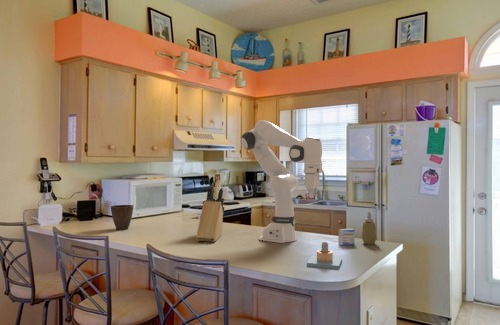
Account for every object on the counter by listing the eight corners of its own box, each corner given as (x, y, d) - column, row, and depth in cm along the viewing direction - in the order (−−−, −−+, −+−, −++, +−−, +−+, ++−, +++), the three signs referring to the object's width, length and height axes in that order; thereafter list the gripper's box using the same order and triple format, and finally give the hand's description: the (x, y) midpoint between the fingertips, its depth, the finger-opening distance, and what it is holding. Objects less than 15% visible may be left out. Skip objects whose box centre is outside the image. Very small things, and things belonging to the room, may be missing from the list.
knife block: (225, 231, 247) (225, 185, 247) (214, 243, 212) (215, 189, 212) (208, 231, 249) (209, 185, 248) (195, 242, 214) (195, 189, 213)
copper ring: (316, 261, 169) (316, 252, 169) (318, 257, 175) (318, 249, 175) (331, 262, 167) (331, 253, 167) (333, 259, 173) (333, 250, 173)
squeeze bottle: (373, 242, 216) (373, 211, 216) (378, 245, 208) (378, 213, 208) (359, 242, 216) (359, 211, 216) (364, 245, 208) (364, 213, 208)
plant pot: (105, 230, 250) (105, 206, 250) (119, 226, 264) (119, 204, 264) (124, 231, 246) (124, 207, 246) (137, 228, 260) (137, 205, 260)
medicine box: (342, 245, 207) (342, 230, 207) (338, 244, 211) (338, 228, 211) (354, 245, 209) (354, 229, 209) (350, 243, 214) (350, 228, 213)
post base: (306, 266, 167) (306, 243, 166) (312, 258, 180) (312, 237, 180) (338, 269, 162) (338, 246, 162) (341, 261, 175) (342, 239, 175)
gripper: (310, 168, 197) (310, 194, 197) (302, 169, 178) (302, 198, 178) (322, 169, 195) (322, 195, 195) (316, 169, 176) (316, 199, 176)
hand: (312, 196), depth 187 cm, fingers open, 8 cm apart
